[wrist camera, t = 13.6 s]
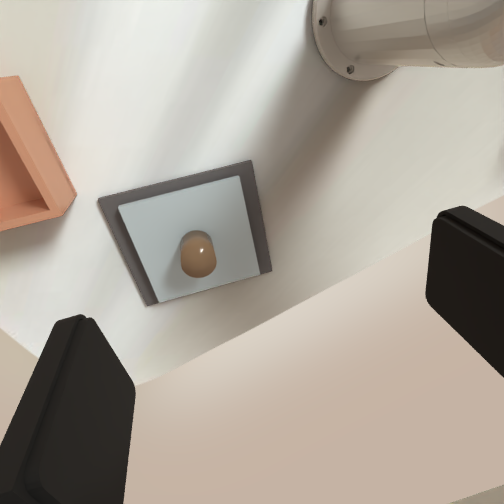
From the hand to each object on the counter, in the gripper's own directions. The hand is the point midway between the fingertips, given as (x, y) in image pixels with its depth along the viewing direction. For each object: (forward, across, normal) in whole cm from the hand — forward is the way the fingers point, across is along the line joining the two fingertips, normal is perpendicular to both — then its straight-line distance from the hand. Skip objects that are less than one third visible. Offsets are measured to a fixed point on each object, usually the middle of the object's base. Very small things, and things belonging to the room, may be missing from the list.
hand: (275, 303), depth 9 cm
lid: (+31, +5, +14) cm, 34 cm away
